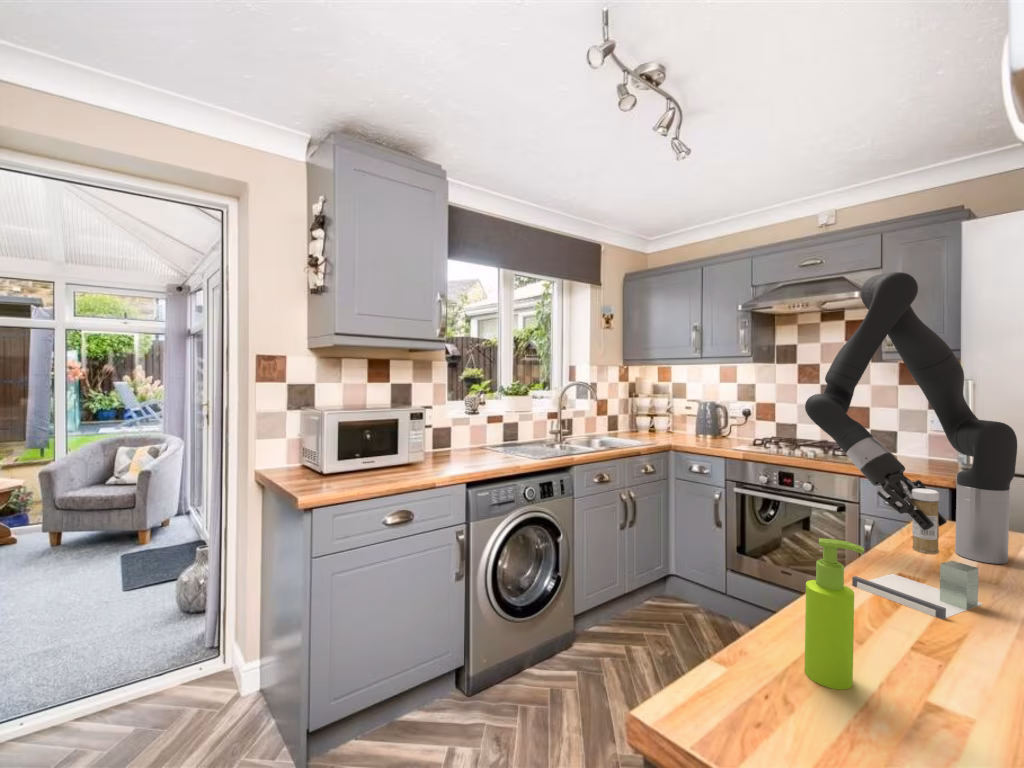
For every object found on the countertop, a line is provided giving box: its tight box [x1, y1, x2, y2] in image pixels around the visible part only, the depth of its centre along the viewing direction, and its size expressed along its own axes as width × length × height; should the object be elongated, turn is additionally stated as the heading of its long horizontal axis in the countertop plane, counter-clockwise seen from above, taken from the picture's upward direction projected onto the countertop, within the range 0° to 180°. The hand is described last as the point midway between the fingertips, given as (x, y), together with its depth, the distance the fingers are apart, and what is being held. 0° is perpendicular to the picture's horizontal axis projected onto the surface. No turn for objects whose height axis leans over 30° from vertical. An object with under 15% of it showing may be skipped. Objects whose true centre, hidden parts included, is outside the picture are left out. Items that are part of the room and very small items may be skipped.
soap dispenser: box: [804, 537, 865, 691], centre depth 71 cm, size 6×7×20 cm
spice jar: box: [911, 488, 940, 556], centre depth 106 cm, size 5×5×13 cm
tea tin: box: [939, 560, 980, 611], centre depth 91 cm, size 4×4×7 cm
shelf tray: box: [851, 573, 984, 620], centre depth 95 cm, size 14×15×3 cm
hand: (935, 526), depth 104 cm, fingers closed on spice jar, 4 cm apart
